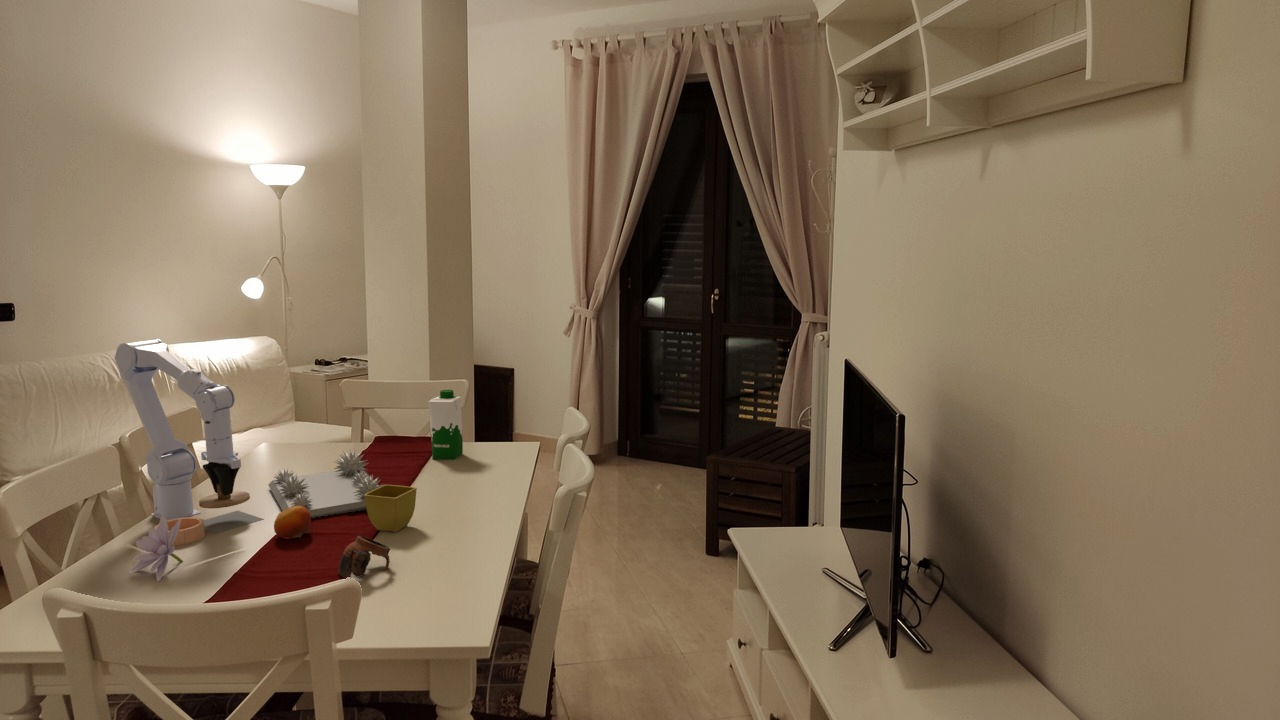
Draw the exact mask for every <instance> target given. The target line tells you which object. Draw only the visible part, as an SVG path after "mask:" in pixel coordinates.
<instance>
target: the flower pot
mask: <svg viewBox="0 0 1280 720" xmlns="http://www.w3.org/2000/svg"><path fill="white" fill-rule="evenodd" d="M382 485H383V486H381V487H379V488H377V489H375V490H373V491H371V492H368V493H366V494H365V495H364V498H365V503H366V508H367V510H366V512H367V516H368V519H369V521H370V523H371V524H372V525H373V526H374V527H375V529H376V530H378V531H384V532H392V533H396V532H398V531H399V530H401V529H403V528H405V527H407V526H408V525H409V523H410V522H411V519H412V517H413V515H414V512H415V507H416V499H417V487H415V486H407V485H406V486H405V485H394V484H382Z"/></svg>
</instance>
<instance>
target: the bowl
mask: <svg viewBox="0 0 1280 720" xmlns="http://www.w3.org/2000/svg"><path fill="white" fill-rule="evenodd" d="M180 519H181V523H180V528H179V531H178V534H177V536H176V538H175V540H174V542H173V544H172V545H171V547H172V546H174V547H175V546H182V545H187V544H191V543H193V542H197V541H199V540H201V539H202V538H204V537H205V534H206V530H205V527H204V520H205V519H204V518H201V517H193V516H189V517H185V518H178V519H173V520H169V521H166V522H167V525H168V532H169V537H170V531H171V529H172V527H173V526H175V524H176V523H177V522H178V521H179V520H180ZM158 526H159V523H158V524H156V525H154V527H153V529H156V530H157V528H158ZM168 542H169V540H168Z"/></svg>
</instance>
